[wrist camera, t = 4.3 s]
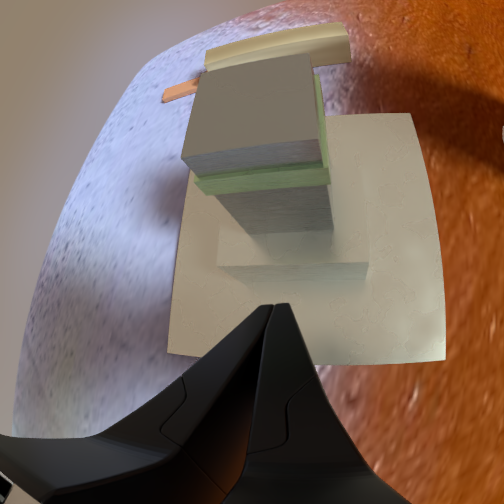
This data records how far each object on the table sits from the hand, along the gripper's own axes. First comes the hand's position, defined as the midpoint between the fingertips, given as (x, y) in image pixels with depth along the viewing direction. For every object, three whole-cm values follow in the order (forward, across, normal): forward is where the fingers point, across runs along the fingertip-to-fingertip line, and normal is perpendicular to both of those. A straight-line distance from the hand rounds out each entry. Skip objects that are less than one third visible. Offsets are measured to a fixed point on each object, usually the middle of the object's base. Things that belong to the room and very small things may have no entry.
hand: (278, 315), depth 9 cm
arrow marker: (+21, +9, -10) cm, 25 cm away
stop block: (+21, 0, -10) cm, 23 cm away
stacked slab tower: (+11, 0, +2) cm, 11 cm away
